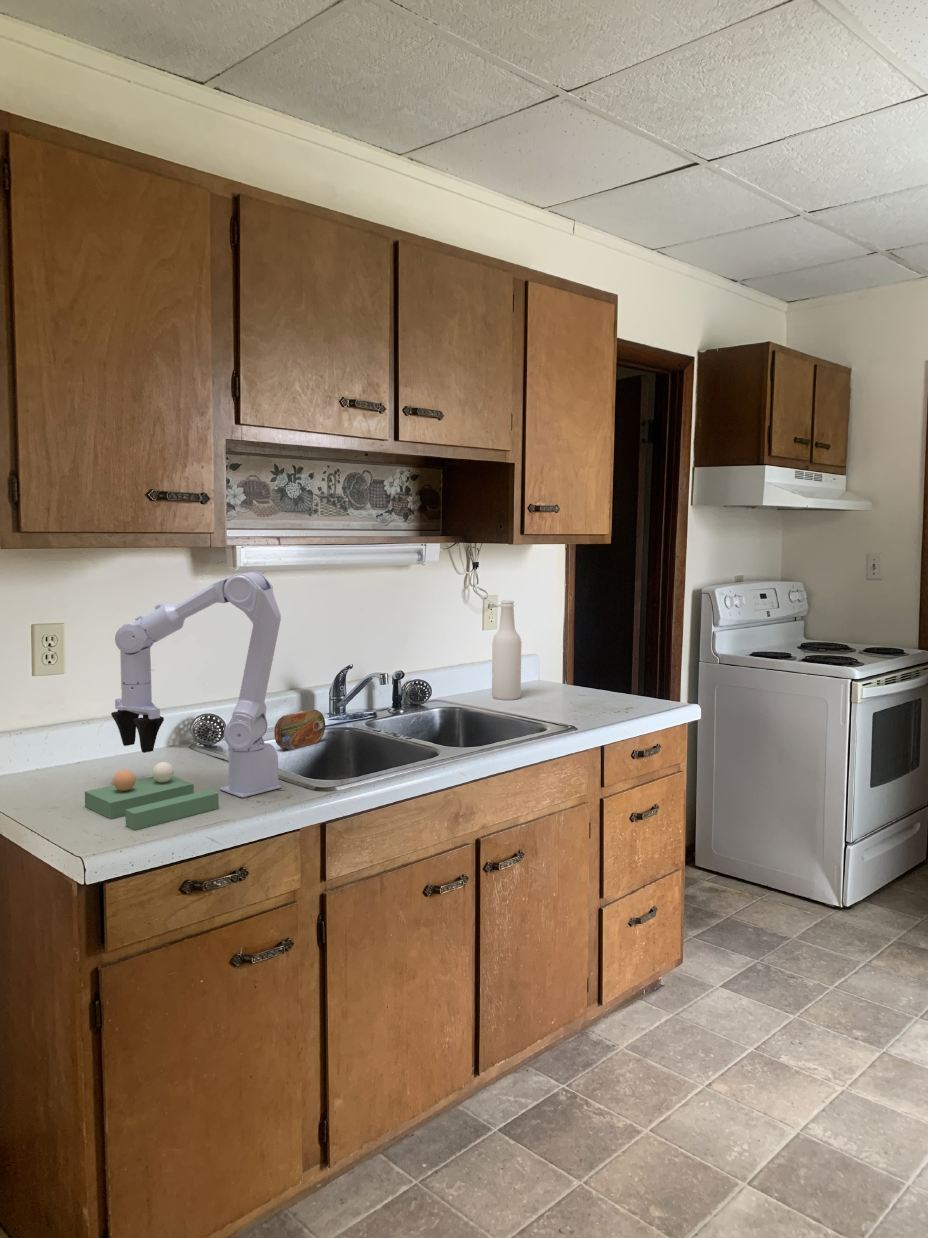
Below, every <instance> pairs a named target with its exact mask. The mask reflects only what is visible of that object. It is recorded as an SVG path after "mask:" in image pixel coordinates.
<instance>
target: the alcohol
mask: <svg viewBox="0 0 928 1238" xmlns="http://www.w3.org/2000/svg"><path fill="white" fill-rule="evenodd" d="M514 604H515V602H514V600H511V599H509V600H507V599H505V600H501V601H500V608H501V609H500V620H499V628H498V630H497V632H496V633H495V635H494V636H493V638H492V651H491V653H492V655H491V657H492V659H491V660H492V663H491V669H492V670H491V675H492V676H491V695H492V697H493V698H494V700H499V701H514V700H516V701H517V700H519V699H520V696H521V688H522V686H521V684H522V680H521V678H522V640H521V636H520V635H519V634H518V632H517V630H516V627H515V626H516V625H515V610H514V607H515V605H514Z"/></svg>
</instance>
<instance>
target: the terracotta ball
mask: <svg viewBox="0 0 928 1238" xmlns="http://www.w3.org/2000/svg"><path fill="white" fill-rule="evenodd" d="M136 780H137V779H136V776H135V774H134V773H133V772H132V771H131V770H129V769H122V770H119V771H118V772H117V773H115V775H114V777H113V779H112V781H113V785H114V786H115V787H116V788H117V789H118V790H120V791H128V790H130V789H131V788H133V786H134V785H135V782H136Z"/></svg>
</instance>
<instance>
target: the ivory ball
mask: <svg viewBox="0 0 928 1238" xmlns="http://www.w3.org/2000/svg"><path fill="white" fill-rule="evenodd" d="M174 772H175V771H174V768H173V765H171V764H170V763H169V762H166V761H161V762H158V763H156V764H155V765H154V766H153V768H152V772H151V773H152V777H154V779H155V780H156V781H158V782H161V783H164V782H167V781H169V780H170V779H171V778H172V776H174Z"/></svg>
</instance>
